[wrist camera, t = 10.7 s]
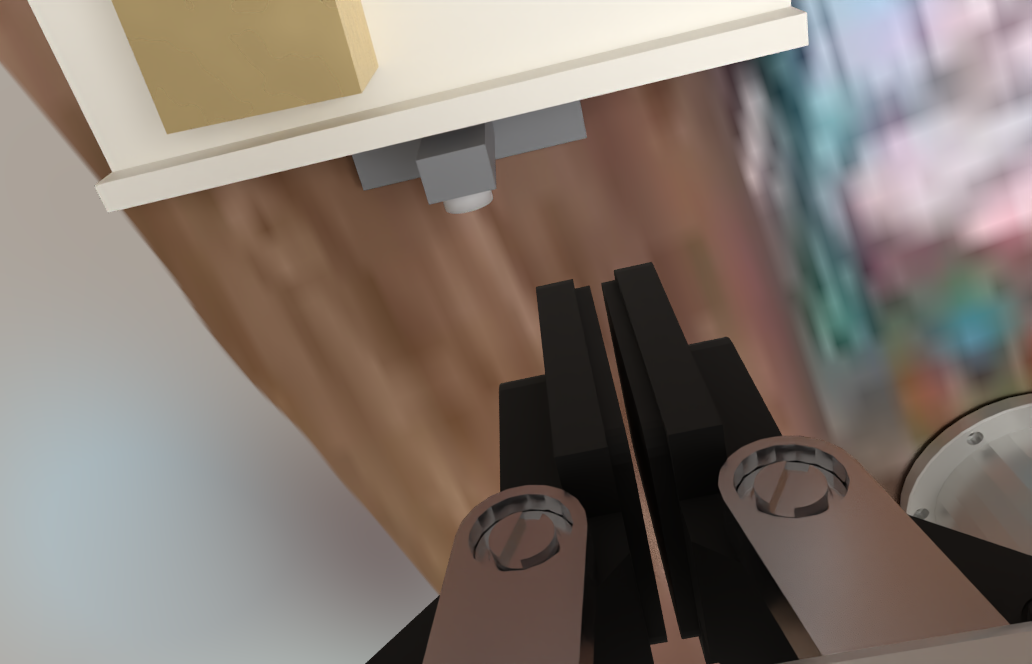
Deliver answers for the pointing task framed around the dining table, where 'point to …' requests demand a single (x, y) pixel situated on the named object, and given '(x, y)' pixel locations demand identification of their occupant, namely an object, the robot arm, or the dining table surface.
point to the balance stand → (468, 155)
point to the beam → (403, 79)
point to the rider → (246, 55)
